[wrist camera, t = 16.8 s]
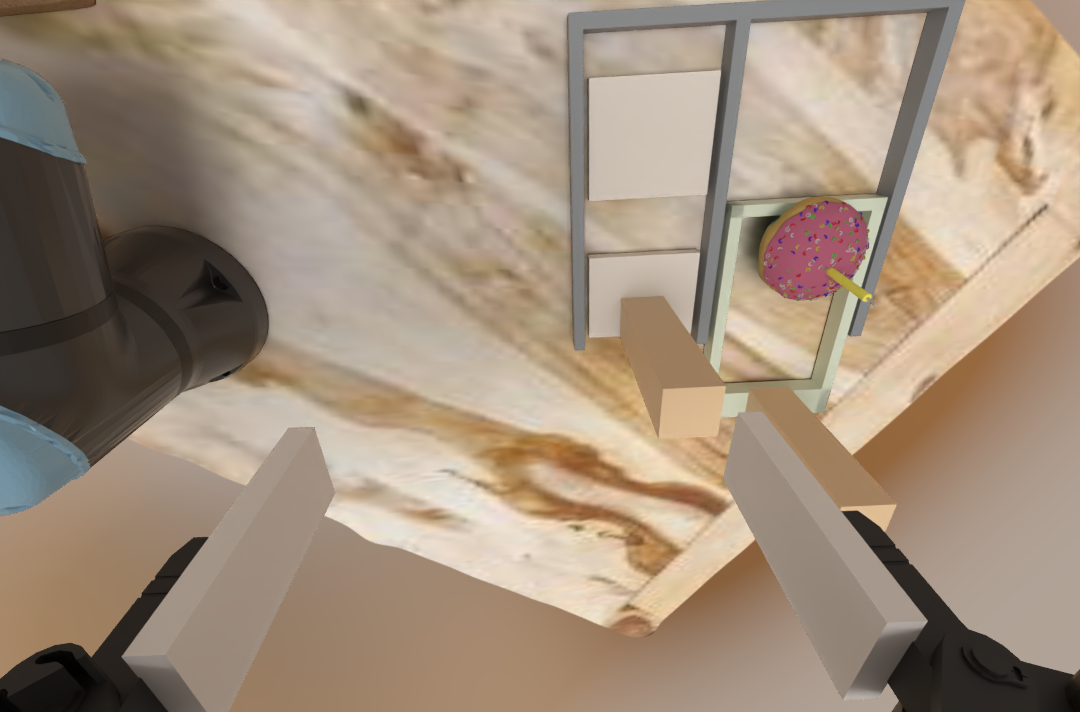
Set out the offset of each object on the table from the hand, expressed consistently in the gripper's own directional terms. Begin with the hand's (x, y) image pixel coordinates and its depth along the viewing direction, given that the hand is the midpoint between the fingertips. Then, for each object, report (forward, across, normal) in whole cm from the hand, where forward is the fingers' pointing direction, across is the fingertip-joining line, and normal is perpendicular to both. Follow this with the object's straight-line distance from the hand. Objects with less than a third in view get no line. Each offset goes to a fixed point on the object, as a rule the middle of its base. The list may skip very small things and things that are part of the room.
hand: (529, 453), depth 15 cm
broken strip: (+30, +11, +1) cm, 32 cm away
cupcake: (+30, +24, -1) cm, 39 cm away
